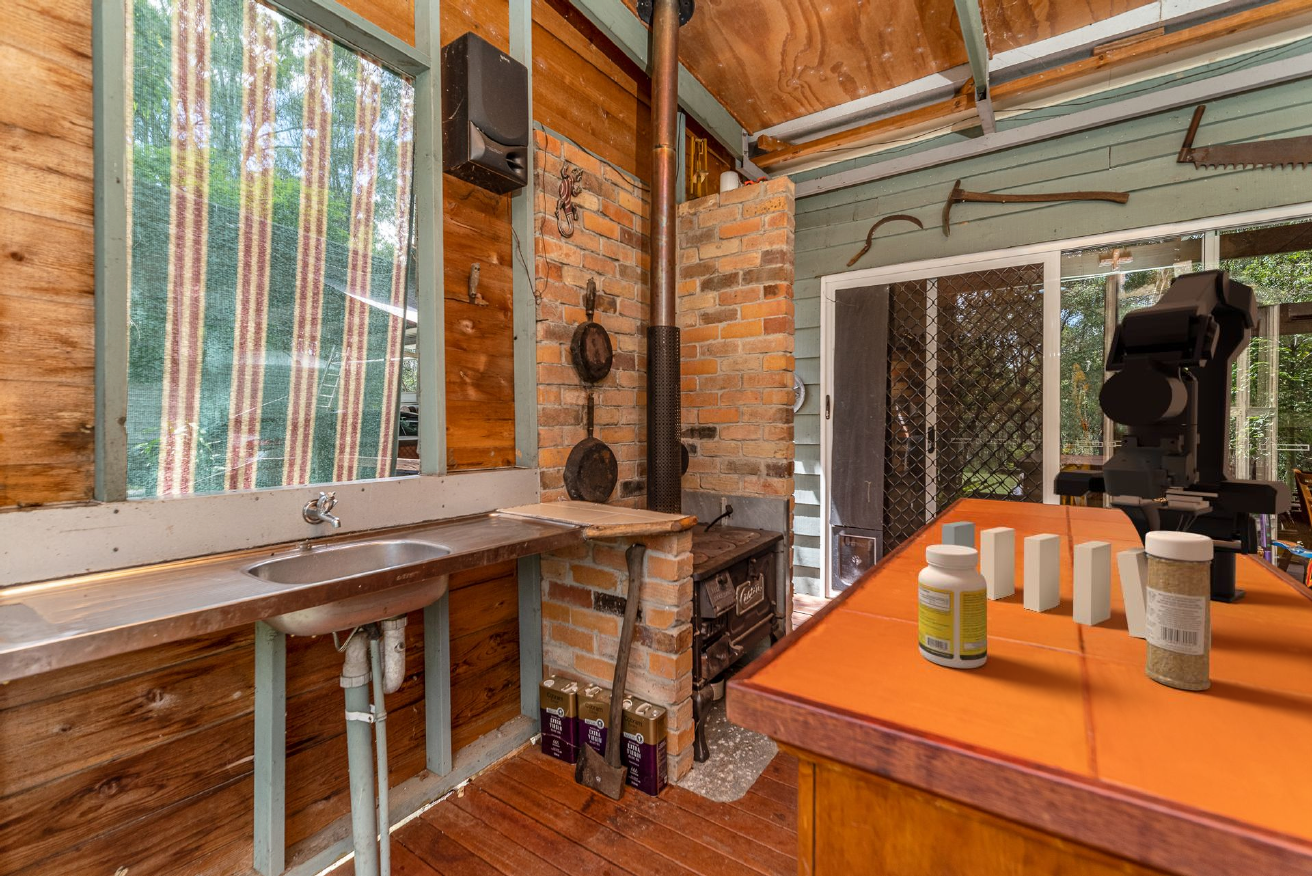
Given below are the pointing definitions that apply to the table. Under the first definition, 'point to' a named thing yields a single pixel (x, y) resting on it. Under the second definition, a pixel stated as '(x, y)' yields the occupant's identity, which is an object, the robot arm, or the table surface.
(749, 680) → the table surface
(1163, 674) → the spice jar
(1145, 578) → the domino
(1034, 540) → the domino
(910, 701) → the table surface
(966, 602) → the pill bottle
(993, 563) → the domino
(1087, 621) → the domino
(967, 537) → the domino
